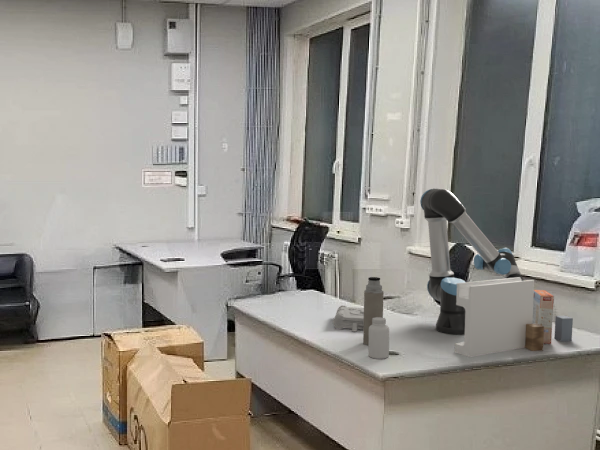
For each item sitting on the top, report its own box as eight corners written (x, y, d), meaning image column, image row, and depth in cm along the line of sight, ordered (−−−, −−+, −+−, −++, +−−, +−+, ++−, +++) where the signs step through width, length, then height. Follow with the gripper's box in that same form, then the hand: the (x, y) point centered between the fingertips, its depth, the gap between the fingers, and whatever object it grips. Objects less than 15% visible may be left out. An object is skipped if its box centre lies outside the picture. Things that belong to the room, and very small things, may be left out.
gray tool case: (331, 332, 276) (332, 315, 276) (337, 317, 304) (337, 302, 303) (374, 334, 274) (375, 318, 273) (376, 320, 301) (376, 305, 301)
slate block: (561, 341, 264) (562, 318, 264) (554, 338, 269) (555, 315, 269) (571, 340, 265) (572, 318, 264) (564, 337, 270) (565, 315, 269)
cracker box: (552, 344, 259) (554, 295, 258) (537, 343, 260) (539, 295, 258) (543, 335, 273) (546, 289, 271) (529, 335, 274) (531, 289, 272)
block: (468, 357, 239) (471, 286, 237) (454, 351, 246) (456, 283, 244) (531, 346, 256) (534, 280, 254) (516, 341, 263) (518, 277, 261)
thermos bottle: (365, 340, 262) (366, 275, 260) (383, 342, 259) (385, 276, 257) (361, 344, 254) (362, 278, 252) (380, 347, 252) (381, 279, 250)
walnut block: (531, 351, 249) (532, 326, 248) (525, 347, 254) (526, 323, 253) (543, 350, 250) (544, 326, 249) (536, 347, 255) (537, 323, 254)
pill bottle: (366, 353, 242) (367, 316, 241) (386, 353, 243) (387, 316, 242) (370, 359, 234) (371, 321, 233) (390, 359, 235) (391, 321, 234)
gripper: (522, 281, 294) (540, 324, 279) (497, 282, 292) (513, 325, 277) (529, 272, 288) (547, 315, 273) (503, 272, 286) (520, 316, 271)
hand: (530, 320), depth 275 cm, fingers closed
